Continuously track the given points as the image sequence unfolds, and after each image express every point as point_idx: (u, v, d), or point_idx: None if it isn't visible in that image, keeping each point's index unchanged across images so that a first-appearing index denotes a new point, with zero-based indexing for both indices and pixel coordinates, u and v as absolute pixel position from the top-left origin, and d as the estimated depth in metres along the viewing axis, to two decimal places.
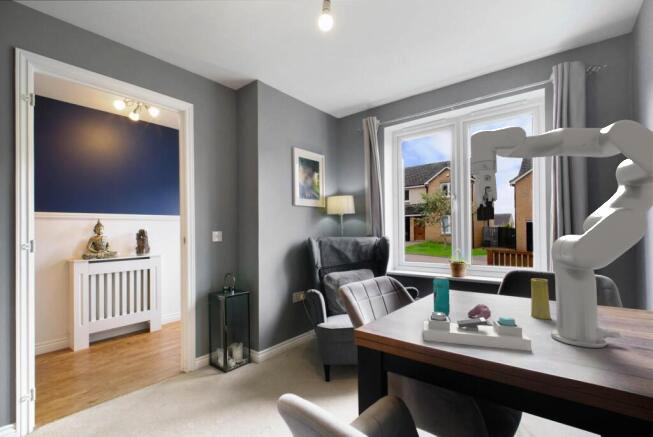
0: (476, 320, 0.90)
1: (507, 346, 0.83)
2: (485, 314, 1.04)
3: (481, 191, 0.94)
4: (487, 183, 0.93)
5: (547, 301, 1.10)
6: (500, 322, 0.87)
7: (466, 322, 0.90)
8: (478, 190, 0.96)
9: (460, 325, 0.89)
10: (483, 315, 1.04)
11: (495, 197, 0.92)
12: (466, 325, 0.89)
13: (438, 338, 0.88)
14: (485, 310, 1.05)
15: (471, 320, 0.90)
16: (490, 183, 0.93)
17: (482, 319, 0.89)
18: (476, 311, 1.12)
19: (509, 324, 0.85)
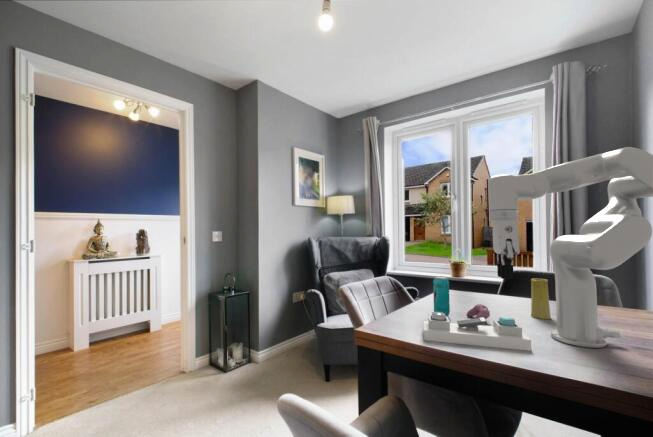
0: (476, 320, 0.90)
1: (507, 346, 0.83)
2: (484, 314, 1.04)
3: (502, 243, 0.84)
4: (508, 235, 0.84)
5: (547, 301, 1.10)
6: (500, 322, 0.87)
7: (466, 322, 0.90)
8: (498, 241, 0.86)
9: (460, 325, 0.89)
10: (482, 315, 1.05)
11: (517, 251, 0.83)
12: (466, 325, 0.89)
13: (438, 338, 0.88)
14: (484, 310, 1.05)
15: (471, 320, 0.90)
16: (512, 235, 0.83)
17: (482, 319, 0.89)
18: (475, 311, 1.12)
19: (509, 324, 0.85)
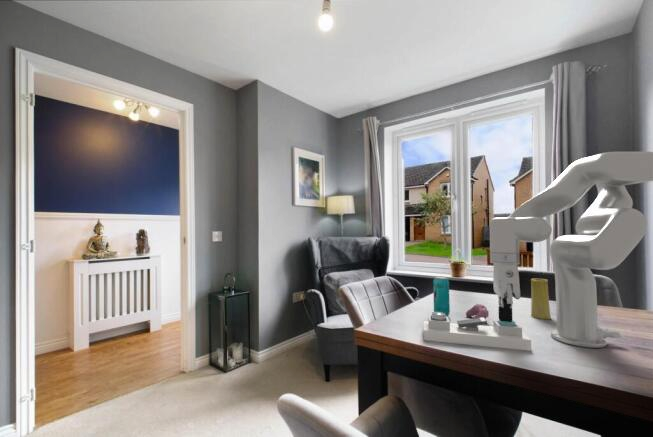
0: (476, 320, 0.90)
1: (507, 346, 0.83)
2: (483, 314, 1.05)
3: (502, 288, 0.84)
4: (509, 280, 0.83)
5: (547, 301, 1.10)
6: (500, 324, 0.87)
7: (466, 322, 0.90)
8: (498, 285, 0.86)
9: (460, 325, 0.89)
10: (481, 315, 1.05)
11: (518, 296, 0.82)
12: (466, 325, 0.89)
13: (438, 338, 0.88)
14: (483, 310, 1.05)
15: (471, 320, 0.90)
16: (513, 280, 0.83)
17: (482, 319, 0.89)
18: (474, 311, 1.12)
19: None
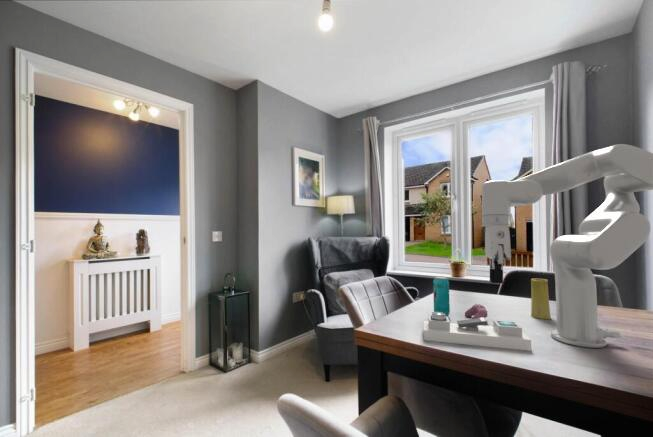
0: (476, 320, 0.90)
1: (507, 346, 0.83)
2: (481, 314, 1.05)
3: (493, 249, 0.85)
4: (500, 240, 0.84)
5: (547, 301, 1.10)
6: None
7: (466, 322, 0.90)
8: (490, 246, 0.87)
9: (460, 325, 0.89)
10: (480, 315, 1.05)
11: (509, 256, 0.83)
12: (466, 325, 0.89)
13: (438, 338, 0.88)
14: (482, 310, 1.05)
15: (471, 320, 0.90)
16: (503, 240, 0.84)
17: (482, 319, 0.89)
18: (473, 311, 1.12)
19: None
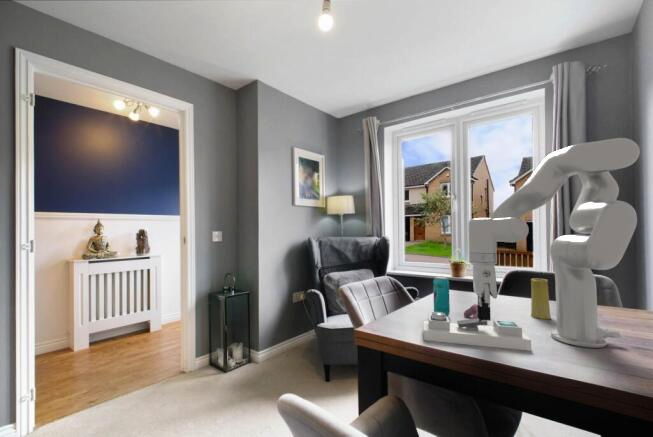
0: (476, 320, 0.90)
1: (507, 346, 0.83)
2: None
3: (480, 287, 0.85)
4: (486, 279, 0.85)
5: (547, 301, 1.10)
6: None
7: (466, 322, 0.90)
8: (476, 284, 0.87)
9: (460, 325, 0.89)
10: None
11: (495, 296, 0.84)
12: (466, 325, 0.89)
13: (438, 338, 0.88)
14: None
15: (471, 320, 0.90)
16: (489, 280, 0.85)
17: None
18: (472, 311, 1.12)
19: None
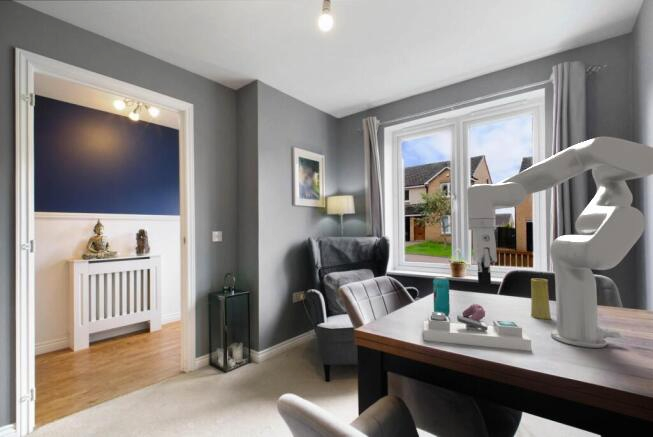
0: (476, 322, 0.90)
1: (507, 346, 0.83)
2: (479, 314, 1.05)
3: (479, 252, 0.86)
4: (486, 244, 0.85)
5: (547, 301, 1.10)
6: None
7: (467, 320, 0.90)
8: (476, 250, 0.88)
9: (460, 320, 0.89)
10: (477, 315, 1.05)
11: (495, 259, 0.85)
12: (466, 322, 0.89)
13: (438, 338, 0.88)
14: (479, 310, 1.05)
15: (472, 320, 0.90)
16: (489, 244, 0.85)
17: (483, 324, 0.89)
18: (470, 311, 1.12)
19: None
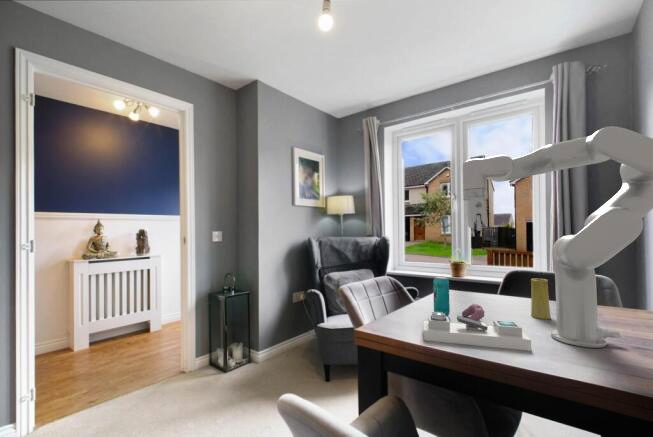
0: (476, 322, 0.90)
1: (507, 346, 0.83)
2: (478, 314, 1.05)
3: (472, 218, 0.98)
4: (478, 210, 0.97)
5: (547, 301, 1.10)
6: None
7: (467, 320, 0.90)
8: (470, 216, 1.00)
9: (460, 320, 0.89)
10: (477, 315, 1.05)
11: (486, 224, 0.96)
12: (466, 322, 0.89)
13: (438, 338, 0.88)
14: (479, 310, 1.05)
15: (472, 320, 0.90)
16: (481, 210, 0.97)
17: (483, 324, 0.89)
18: (470, 311, 1.12)
19: None
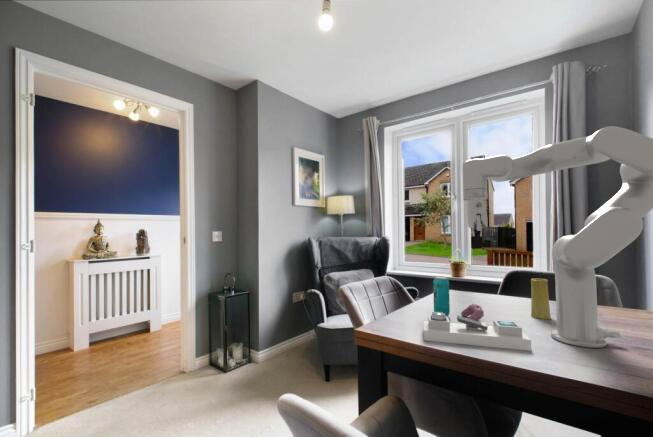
0: (476, 322, 0.90)
1: (507, 346, 0.83)
2: (478, 314, 1.05)
3: (472, 218, 0.98)
4: (478, 210, 0.97)
5: (547, 301, 1.10)
6: None
7: (467, 320, 0.90)
8: (470, 216, 1.00)
9: (460, 320, 0.89)
10: (476, 315, 1.05)
11: (486, 224, 0.96)
12: (466, 322, 0.89)
13: (438, 338, 0.88)
14: (478, 310, 1.06)
15: (472, 320, 0.90)
16: (481, 210, 0.97)
17: (483, 324, 0.89)
18: (469, 311, 1.12)
19: None
